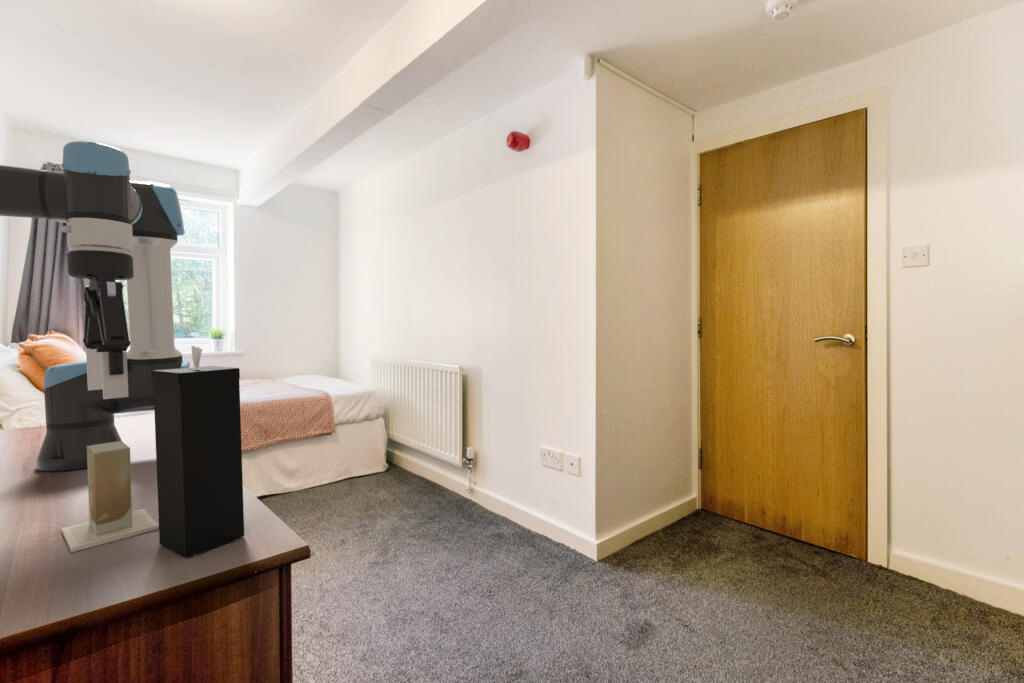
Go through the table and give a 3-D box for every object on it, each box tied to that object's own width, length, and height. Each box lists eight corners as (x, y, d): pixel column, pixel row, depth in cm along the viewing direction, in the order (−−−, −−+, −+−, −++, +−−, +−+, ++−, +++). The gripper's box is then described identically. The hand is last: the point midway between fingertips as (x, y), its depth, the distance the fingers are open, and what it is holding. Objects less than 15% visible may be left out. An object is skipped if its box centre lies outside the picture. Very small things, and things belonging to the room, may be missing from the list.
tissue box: (185, 559, 64) (178, 347, 63) (158, 545, 68) (150, 346, 67) (245, 537, 71) (239, 345, 70) (216, 525, 75) (210, 344, 74)
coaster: (61, 532, 73) (61, 527, 73) (143, 512, 81) (143, 508, 80) (71, 552, 66) (70, 547, 66) (159, 528, 74) (159, 524, 74)
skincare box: (88, 524, 74) (84, 445, 73) (124, 516, 77) (121, 439, 77) (96, 536, 70) (92, 452, 69) (133, 527, 73) (130, 446, 72)
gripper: (56, 257, 78) (63, 388, 79) (79, 238, 61) (87, 405, 62) (116, 261, 83) (121, 384, 84) (152, 245, 67) (158, 398, 68)
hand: (107, 393), depth 73 cm, fingers open, 13 cm apart
